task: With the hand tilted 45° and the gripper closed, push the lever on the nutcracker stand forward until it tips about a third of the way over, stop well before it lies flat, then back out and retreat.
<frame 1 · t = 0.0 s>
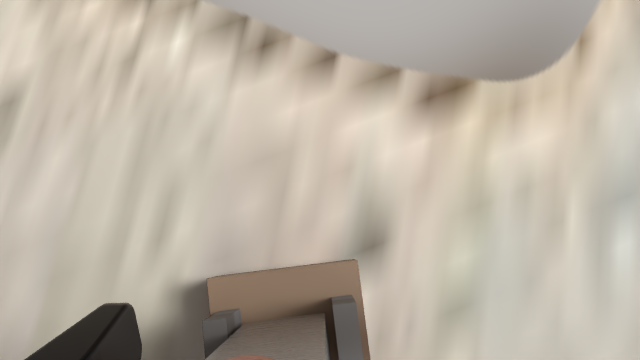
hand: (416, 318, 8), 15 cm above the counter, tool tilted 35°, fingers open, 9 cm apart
nutcracker stand: (293, 325, 23), on the counter
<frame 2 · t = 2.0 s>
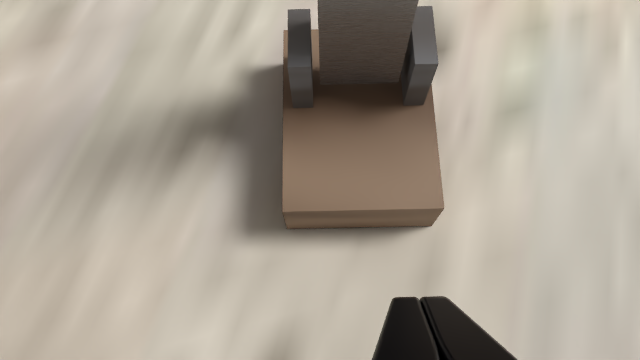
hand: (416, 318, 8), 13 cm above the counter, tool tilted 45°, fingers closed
nutcracker stand: (354, 109, 24), on the counter
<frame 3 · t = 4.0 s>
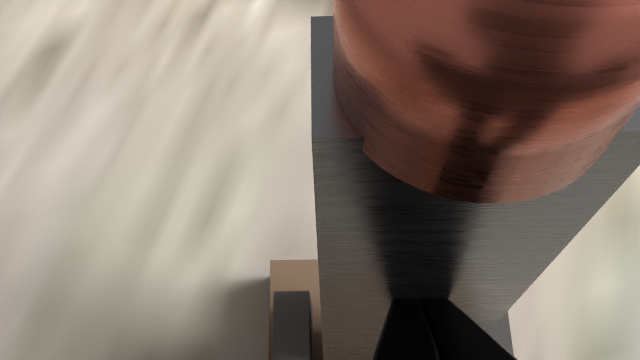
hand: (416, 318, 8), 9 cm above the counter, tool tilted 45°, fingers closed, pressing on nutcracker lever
nutcracker stand: (372, 352, 17), on the counter
nutcracker lever: (414, 252, 8), point 9 cm above the counter, hinge at 12.1°, touching gripper
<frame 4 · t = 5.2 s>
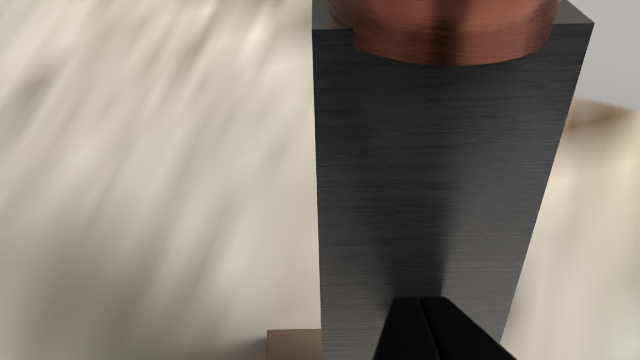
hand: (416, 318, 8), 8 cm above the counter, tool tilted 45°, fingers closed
nutcracker lever: (411, 253, 9), point 8 cm above the counter, hinge at 34.1°
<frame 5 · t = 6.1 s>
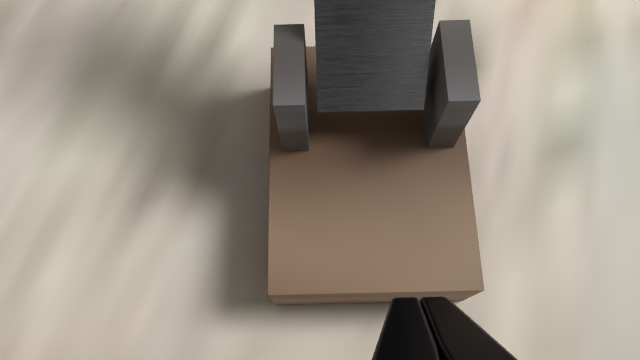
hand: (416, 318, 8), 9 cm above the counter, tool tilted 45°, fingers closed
nutcracker stand: (361, 145, 19), on the counter
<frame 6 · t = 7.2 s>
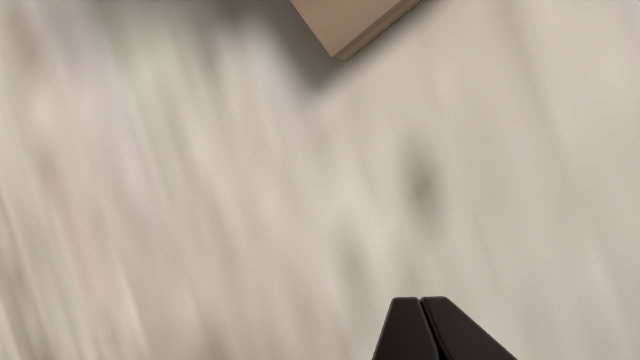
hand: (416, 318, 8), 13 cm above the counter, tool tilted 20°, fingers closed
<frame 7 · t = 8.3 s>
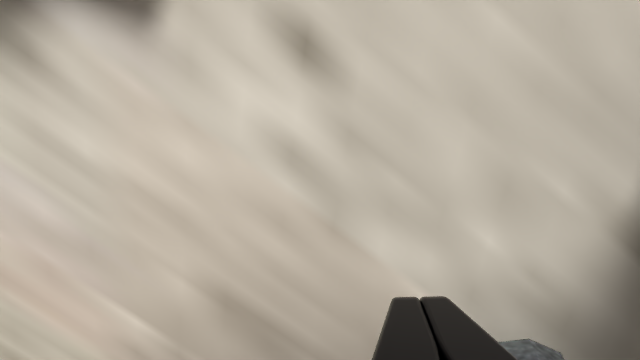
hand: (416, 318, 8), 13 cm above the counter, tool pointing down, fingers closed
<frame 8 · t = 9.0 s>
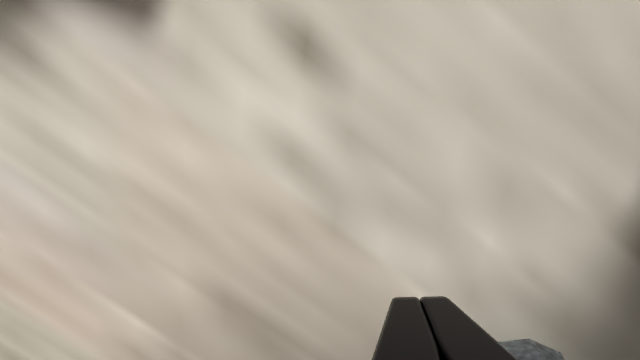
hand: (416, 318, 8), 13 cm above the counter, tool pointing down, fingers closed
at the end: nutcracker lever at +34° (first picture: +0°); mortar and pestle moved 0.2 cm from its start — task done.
